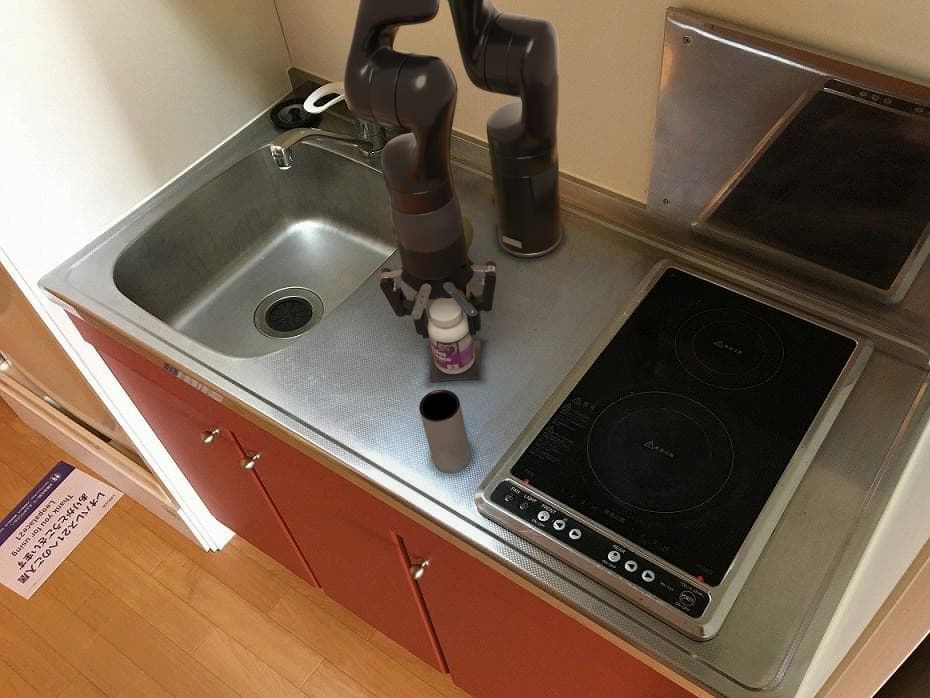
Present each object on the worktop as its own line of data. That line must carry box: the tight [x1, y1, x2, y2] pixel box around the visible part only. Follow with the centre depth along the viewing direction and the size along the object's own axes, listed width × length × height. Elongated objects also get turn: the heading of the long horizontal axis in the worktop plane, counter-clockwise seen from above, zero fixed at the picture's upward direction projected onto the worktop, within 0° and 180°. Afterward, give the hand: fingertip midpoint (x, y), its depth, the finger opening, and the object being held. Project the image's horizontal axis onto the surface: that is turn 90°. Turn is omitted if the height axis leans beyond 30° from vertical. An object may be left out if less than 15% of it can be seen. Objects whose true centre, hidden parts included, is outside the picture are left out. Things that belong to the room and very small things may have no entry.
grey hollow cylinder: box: [418, 389, 472, 474], centre depth 94 cm, size 4×4×10 cm
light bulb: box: [461, 214, 474, 255], centre depth 114 cm, size 6×6×10 cm
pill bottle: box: [427, 298, 475, 374], centre depth 103 cm, size 5×5×10 cm
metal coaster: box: [429, 339, 482, 383], centre depth 107 cm, size 6×6×1 cm
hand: (449, 331), depth 103 cm, fingers closed on pill bottle, 5 cm apart
